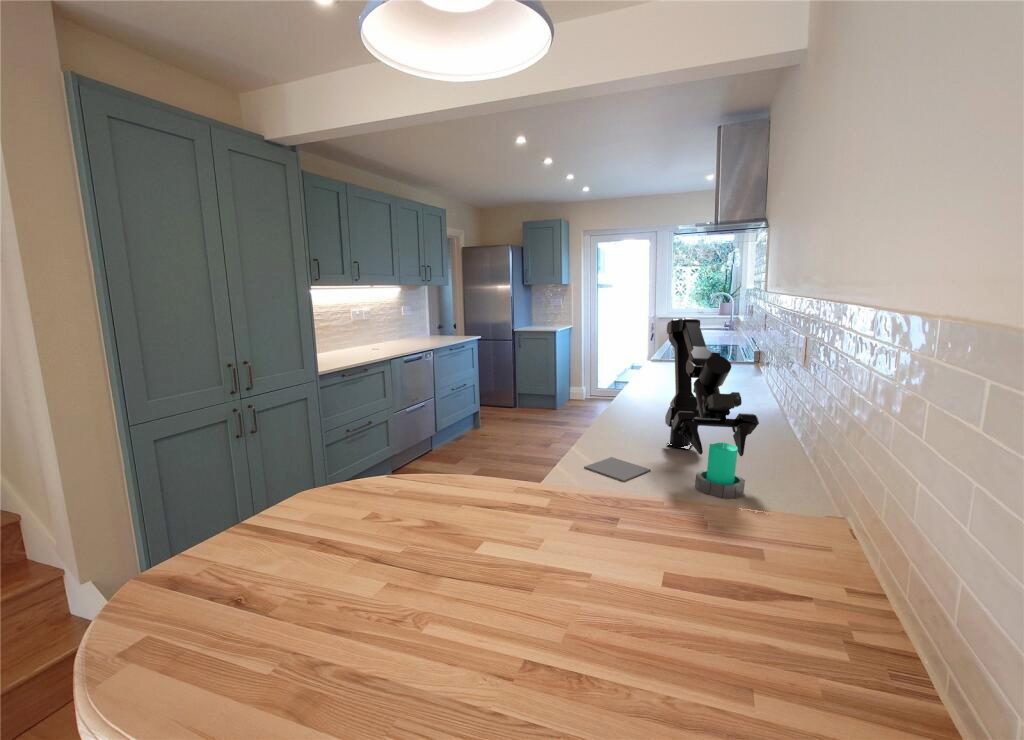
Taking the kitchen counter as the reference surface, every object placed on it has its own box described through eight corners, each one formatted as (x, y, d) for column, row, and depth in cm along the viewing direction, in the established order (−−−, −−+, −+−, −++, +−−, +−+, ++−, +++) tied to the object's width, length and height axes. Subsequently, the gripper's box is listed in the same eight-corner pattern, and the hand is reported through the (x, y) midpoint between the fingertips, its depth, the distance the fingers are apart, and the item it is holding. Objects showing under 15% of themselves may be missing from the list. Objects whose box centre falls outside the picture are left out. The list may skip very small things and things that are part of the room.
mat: (611, 458, 131) (611, 457, 131) (650, 470, 123) (650, 469, 123) (584, 468, 123) (584, 466, 123) (624, 482, 115) (624, 480, 114)
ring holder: (699, 478, 119) (700, 466, 118) (745, 487, 114) (746, 475, 113) (691, 491, 110) (692, 479, 110) (740, 502, 105) (742, 489, 104)
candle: (727, 485, 114) (733, 436, 113) (737, 495, 109) (742, 444, 107) (701, 483, 115) (706, 435, 113) (709, 493, 109) (714, 442, 107)
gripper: (679, 377, 114) (690, 435, 105) (759, 380, 114) (778, 439, 104) (667, 403, 123) (677, 458, 114) (742, 406, 123) (757, 462, 113)
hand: (721, 454), depth 111 cm, fingers open, 9 cm apart
